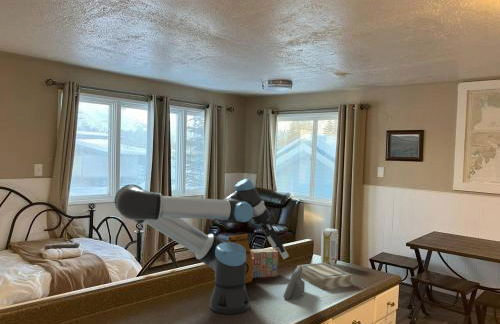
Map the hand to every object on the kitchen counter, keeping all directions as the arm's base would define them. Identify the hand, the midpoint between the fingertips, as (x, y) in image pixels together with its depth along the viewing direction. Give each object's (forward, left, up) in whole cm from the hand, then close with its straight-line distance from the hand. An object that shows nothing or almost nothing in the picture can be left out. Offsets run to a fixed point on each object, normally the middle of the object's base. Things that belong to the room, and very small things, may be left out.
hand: (280, 252), depth 177 cm
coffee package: (-15, +12, -16) cm, 25 cm away
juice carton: (+43, +24, -16) cm, 52 cm away
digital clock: (+1, -9, -16) cm, 19 cm away
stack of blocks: (-3, +20, -16) cm, 26 cm away
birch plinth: (+24, +2, -16) cm, 29 cm away
